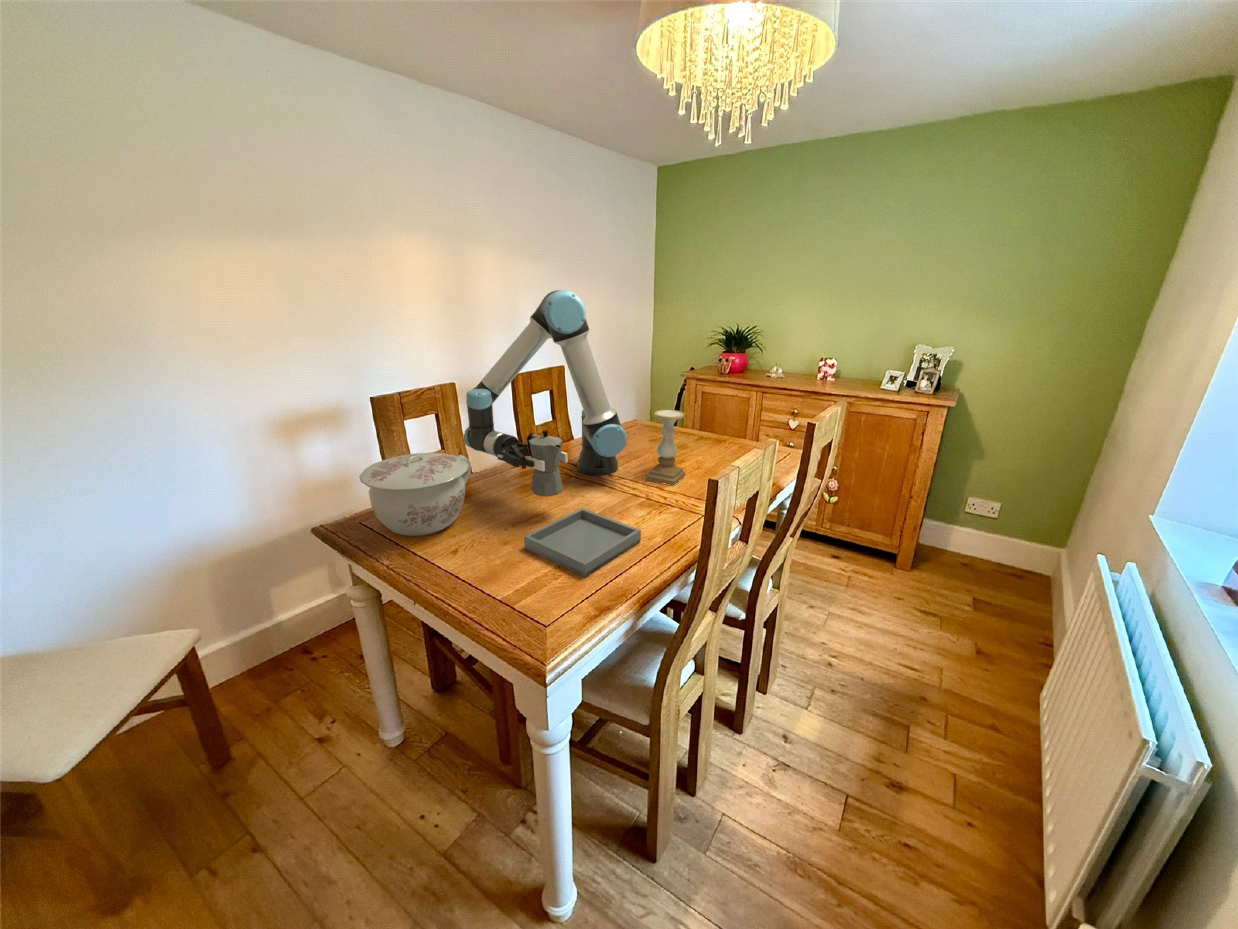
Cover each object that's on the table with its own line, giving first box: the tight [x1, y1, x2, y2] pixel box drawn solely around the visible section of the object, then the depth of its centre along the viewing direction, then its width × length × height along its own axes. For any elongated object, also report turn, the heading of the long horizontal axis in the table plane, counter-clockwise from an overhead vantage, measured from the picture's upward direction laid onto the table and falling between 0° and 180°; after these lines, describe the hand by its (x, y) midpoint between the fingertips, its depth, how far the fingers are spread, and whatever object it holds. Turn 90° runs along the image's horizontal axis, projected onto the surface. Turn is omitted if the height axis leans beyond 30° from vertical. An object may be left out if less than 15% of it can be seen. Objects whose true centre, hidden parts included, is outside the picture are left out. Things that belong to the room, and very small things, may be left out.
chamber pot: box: [359, 452, 472, 537], centre depth 133 cm, size 28×28×21 cm
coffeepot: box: [526, 429, 564, 497], centre depth 138 cm, size 15×9×18 cm, turn 44°
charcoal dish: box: [523, 507, 642, 578], centre depth 127 cm, size 22×21×4 cm
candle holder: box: [645, 409, 686, 486], centre depth 169 cm, size 11×11×24 cm
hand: (555, 462), depth 135 cm, fingers closed on coffeepot, 8 cm apart
